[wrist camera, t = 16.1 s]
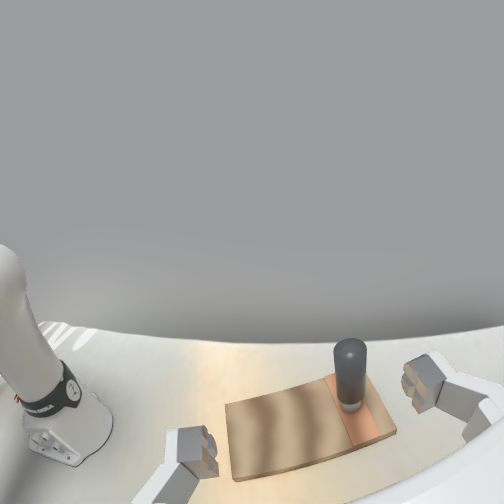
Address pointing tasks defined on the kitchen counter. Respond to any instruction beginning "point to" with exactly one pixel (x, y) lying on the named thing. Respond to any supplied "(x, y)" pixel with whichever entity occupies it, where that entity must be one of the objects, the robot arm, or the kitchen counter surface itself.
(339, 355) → the round-topped grey cylinder
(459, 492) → the robot arm
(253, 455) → the board
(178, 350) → the kitchen counter surface
